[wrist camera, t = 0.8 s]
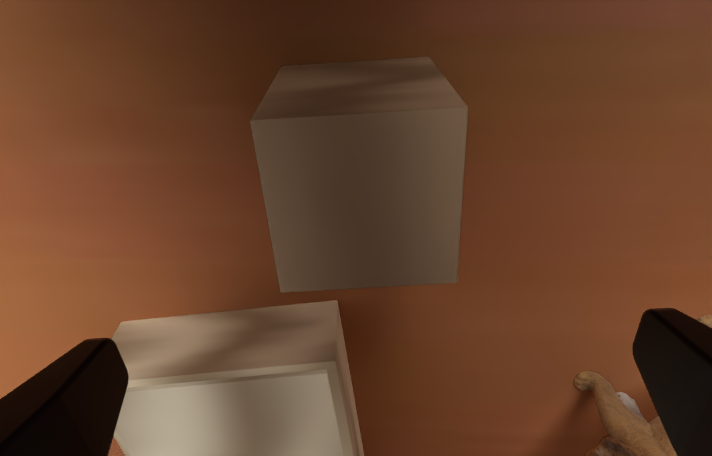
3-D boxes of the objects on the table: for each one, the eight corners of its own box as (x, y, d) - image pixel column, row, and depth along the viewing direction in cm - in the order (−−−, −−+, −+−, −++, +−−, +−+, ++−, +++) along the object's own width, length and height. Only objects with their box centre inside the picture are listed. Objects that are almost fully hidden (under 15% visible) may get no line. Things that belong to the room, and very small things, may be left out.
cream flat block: (337, 294, 21) (335, 364, 18) (368, 474, 29) (371, 551, 25) (124, 316, 22) (80, 388, 18) (207, 488, 29) (187, 564, 25)
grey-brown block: (429, 56, 16) (468, 107, 11) (426, 189, 18) (457, 282, 13) (281, 65, 16) (250, 120, 11) (299, 196, 18) (280, 292, 13)
